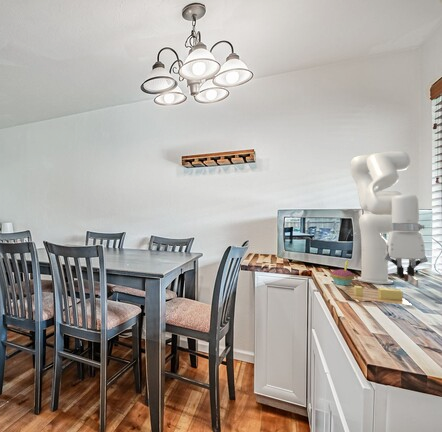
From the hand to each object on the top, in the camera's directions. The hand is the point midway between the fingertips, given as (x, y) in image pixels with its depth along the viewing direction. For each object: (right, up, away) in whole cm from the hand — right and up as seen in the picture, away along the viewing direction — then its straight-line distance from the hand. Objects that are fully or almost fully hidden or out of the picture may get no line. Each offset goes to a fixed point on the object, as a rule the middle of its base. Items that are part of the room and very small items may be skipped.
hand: (405, 277), depth 118 cm
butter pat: (-17, -7, 0) cm, 18 cm away
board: (-11, -7, 0) cm, 14 cm away
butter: (-9, -7, -4) cm, 12 cm away
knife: (-2, -1, -3) cm, 4 cm away
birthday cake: (-10, -8, +19) cm, 23 cm away
